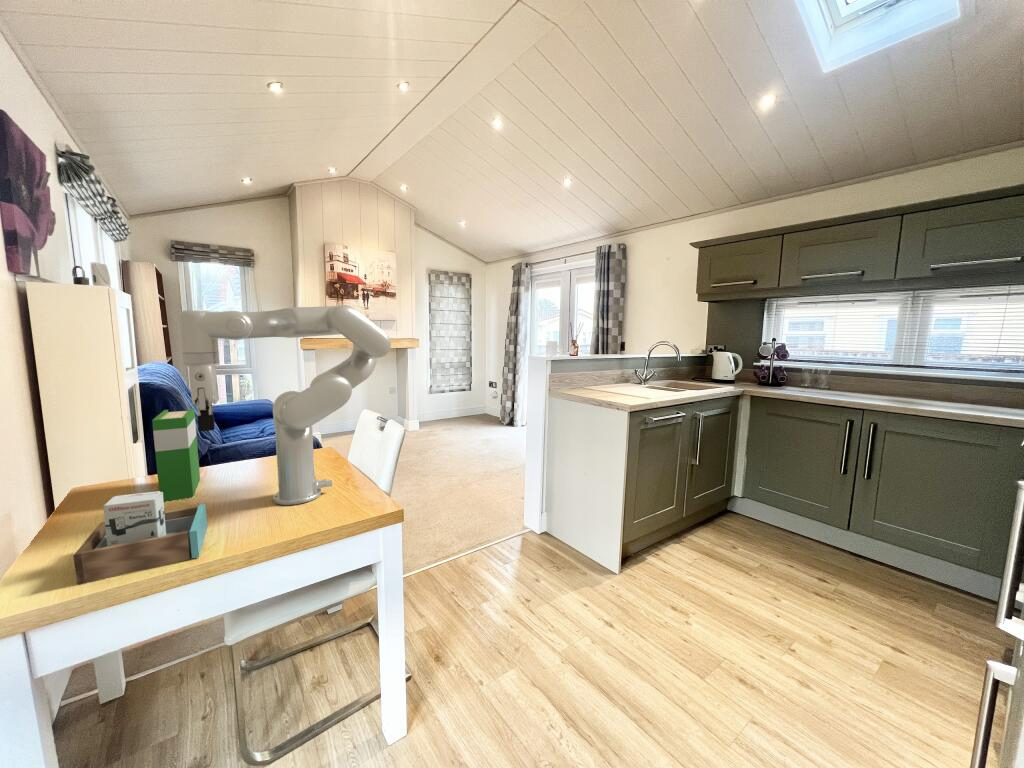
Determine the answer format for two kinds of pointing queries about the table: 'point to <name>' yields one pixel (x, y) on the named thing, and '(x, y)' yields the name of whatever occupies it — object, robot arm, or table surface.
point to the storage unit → (131, 552)
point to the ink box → (134, 517)
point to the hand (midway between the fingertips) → (206, 430)
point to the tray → (191, 524)
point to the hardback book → (176, 454)
